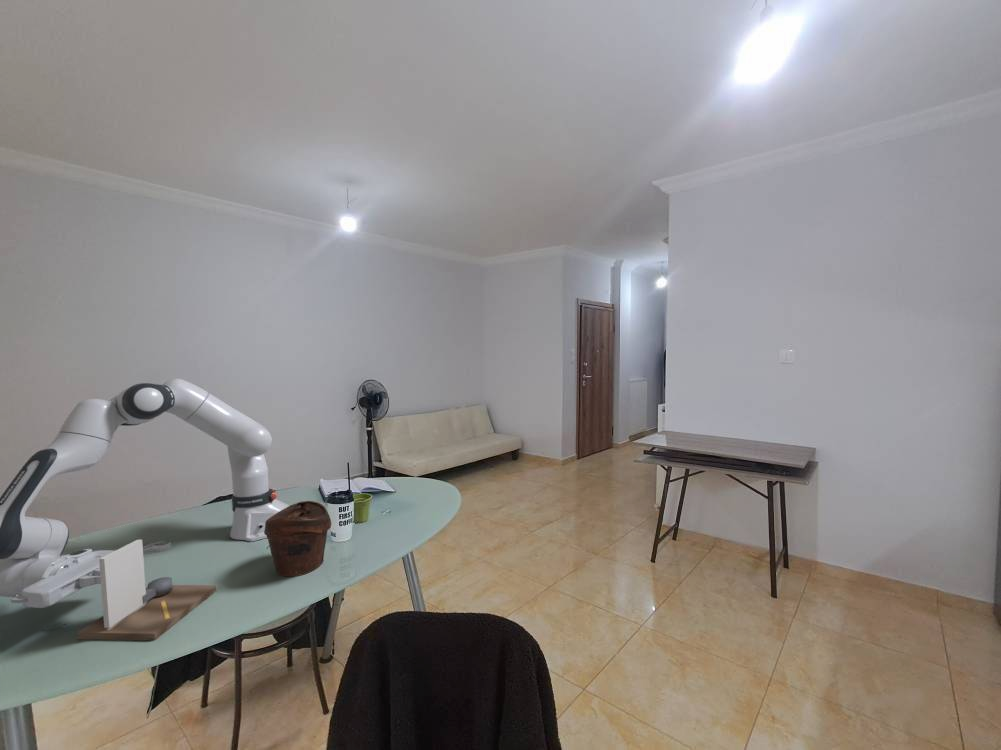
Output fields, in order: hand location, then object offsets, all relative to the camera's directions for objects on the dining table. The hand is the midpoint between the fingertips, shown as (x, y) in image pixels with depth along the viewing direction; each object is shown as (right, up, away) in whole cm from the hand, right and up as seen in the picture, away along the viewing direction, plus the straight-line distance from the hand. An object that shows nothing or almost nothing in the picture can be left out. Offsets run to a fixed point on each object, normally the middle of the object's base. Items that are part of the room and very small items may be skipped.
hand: (108, 577), depth 107 cm
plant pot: (+42, -6, +59) cm, 73 cm away
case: (+35, -8, +25) cm, 44 cm away
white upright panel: (+6, -8, +2) cm, 10 cm away
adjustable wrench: (-24, -9, +33) cm, 42 cm away
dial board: (+9, -10, +2) cm, 13 cm away
